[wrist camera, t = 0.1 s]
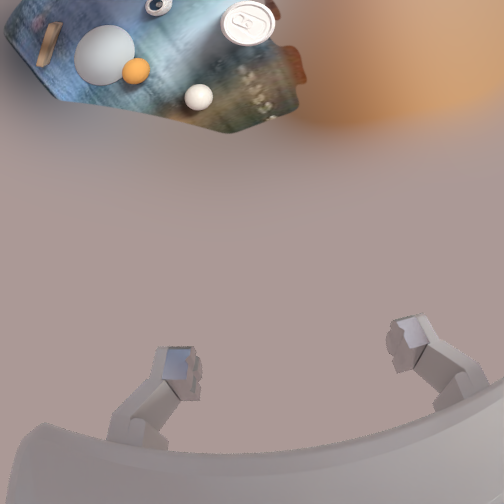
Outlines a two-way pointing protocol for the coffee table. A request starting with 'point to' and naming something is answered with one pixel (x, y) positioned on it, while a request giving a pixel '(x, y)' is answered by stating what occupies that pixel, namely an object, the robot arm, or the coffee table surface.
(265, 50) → the coffee table surface
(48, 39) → the wall
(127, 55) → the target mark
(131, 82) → the orange ball
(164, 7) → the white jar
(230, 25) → the beverage can
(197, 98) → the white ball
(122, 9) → the coffee table surface
